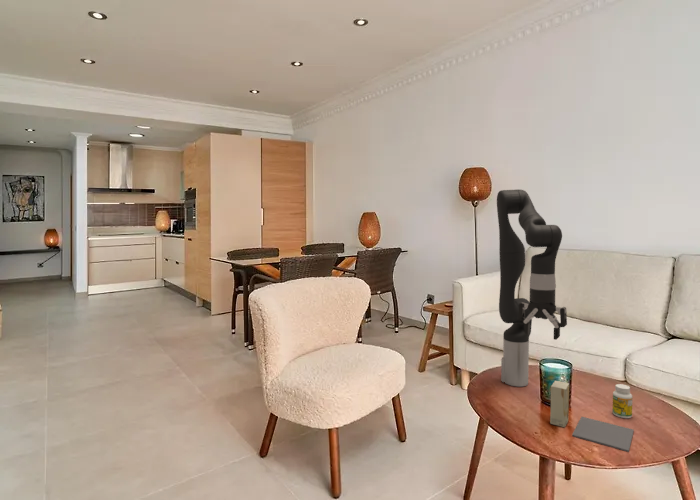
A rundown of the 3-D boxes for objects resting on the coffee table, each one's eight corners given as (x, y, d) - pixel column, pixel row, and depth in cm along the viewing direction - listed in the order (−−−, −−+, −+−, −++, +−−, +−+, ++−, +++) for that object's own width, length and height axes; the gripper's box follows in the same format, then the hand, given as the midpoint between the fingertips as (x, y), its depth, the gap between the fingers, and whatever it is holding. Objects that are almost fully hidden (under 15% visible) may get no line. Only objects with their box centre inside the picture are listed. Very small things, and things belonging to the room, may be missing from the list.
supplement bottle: (635, 416, 135) (636, 387, 134) (625, 420, 133) (626, 391, 132) (618, 409, 140) (619, 381, 139) (608, 413, 138) (609, 384, 137)
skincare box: (565, 428, 129) (565, 389, 128) (549, 424, 131) (550, 386, 130) (568, 419, 134) (569, 382, 133) (554, 416, 136) (554, 379, 135)
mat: (572, 436, 124) (572, 434, 124) (581, 417, 135) (581, 416, 135) (628, 452, 115) (628, 450, 115) (633, 431, 126) (633, 429, 126)
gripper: (515, 286, 136) (515, 335, 137) (563, 291, 127) (562, 343, 128) (523, 283, 141) (522, 330, 143) (569, 287, 132) (568, 337, 133)
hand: (541, 336), depth 135 cm, fingers open, 8 cm apart
